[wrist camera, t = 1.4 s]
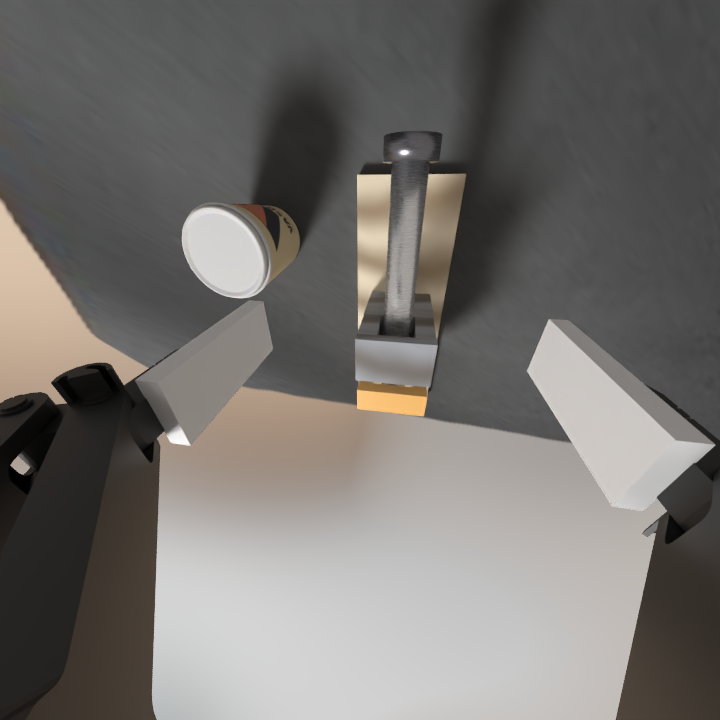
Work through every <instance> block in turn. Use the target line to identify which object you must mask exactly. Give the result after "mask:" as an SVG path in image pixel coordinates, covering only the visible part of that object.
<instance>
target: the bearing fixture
mask: <svg viewBox="0 0 720 720" xmlns="http://www.w3.org/2000/svg"><path fill="white" fill-rule="evenodd" d="M465 179H466V174H429V175H428V183H427V192H426V201H425V210H424V219H423V227H422V236H421V245H420V254H419V263H418V271H417V280H416V289H415V298H414V307H413V315H412V324H411V333H410V337H398V336H384V335H383V327H384V307H385V288H386V268H387V248H388V228H389V209H390V189H391V175H357V221H358V333H357V336H356V338H355V364H356V380H358V381H368V382H375V383H374V384H381V383H389V384H399V385H405V386H404V387H411V386H420V387H426V388H427V393H428V388H429V387H430V386H431V380H432V375H433V369H434V364H435V358H436V353H437V347H438V344H437V337H438V332H439V326H440V320H441V315H442V309H443V303H444V298H445V292H446V286H447V281H448V275H449V270H450V264H451V258H452V253H453V247H454V241H455V236H456V230H457V225H458V219H459V213H460V208H461V202H462V196H463V191H464V185H465Z"/></svg>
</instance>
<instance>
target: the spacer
mask: <svg viewBox="0 0 720 720" xmlns="http://www.w3.org/2000/svg"><path fill="white" fill-rule="evenodd" d="M374 383H375V382H368V381H359V385H358V389H357V407H358V408H357V409H363V410H372V411H380V412H389V413H398V414H408V415H417V416H424V412H425V407H426V401H427V388H426V387H420V386H411V387H404V386H393V385H383V384H374Z"/></svg>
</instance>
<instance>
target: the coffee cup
mask: <svg viewBox="0 0 720 720" xmlns="http://www.w3.org/2000/svg"><path fill="white" fill-rule="evenodd" d="M182 245H183V250H184V253H185V256H186V259H187V261H188V263H189V265H190V267H191V269H192V270H193V271H194V273H195V274H196V276H197V277H198V278H199V279H200V280H201V281H202V282H203V283H204V284H205V285H206V286H208V287H209V288H210V289H212V290H214V291H215V292H217V293H219V294H221V295H224V296H228V297H233V298H248V297H251V296H254V295H256V294H257V293H259V292H260V291H261V290H263V288H264V287H265V286H266V285H267V284H268V283H269V282H270V281H271V280H272V279H274V278H275V277H276V276H277V275H278V274H279V273H280V272H281V271H283V270H284V269H285V268H286V267H287V266H288V265H289V264H290V263H291V262H292V261H293V260H294V259H295V257H296V256H297V254H298V251H299V247H300V236H299V232H298V229H297V227H296V225H295V223H294V221H293V220H292V219H291V217H290V216H289V215H288V214H287V213H285V212H284V211H283V210H281V209H279V208H277V207H274V206H268V205H251V204H225V203H219V202H210V203H205V204H202V205H200V206H198V207H197V208H195V209H194V210H193V211H192V212H191V213H190V215H189V216H188V218H187V219H186V221H185V224H184V226H183V231H182Z"/></svg>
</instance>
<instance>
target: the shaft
mask: <svg viewBox="0 0 720 720" xmlns="http://www.w3.org/2000/svg"><path fill="white" fill-rule="evenodd" d="M441 143H442V134H441V133H438V132H430V131H407V132H396V133H391V134H387V135H385V136H384V151H383V163H388V164H392V169H391V189H390V209H389V228H388V248H387V268H386V288H385V307H384V327H383V335H384V336H398V337H410V333H411V324H412V315H413V307H414V298H415V289H416V280H417V271H418V263H419V254H420V245H421V236H422V227H423V219H424V210H425V201H426V192H427V183H428V175H429V166H430V163H436V162H439V159H440V151H441ZM381 384H383V385H393V386H405V385H399V384H389V383H381ZM388 413H389V412H388Z"/></svg>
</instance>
